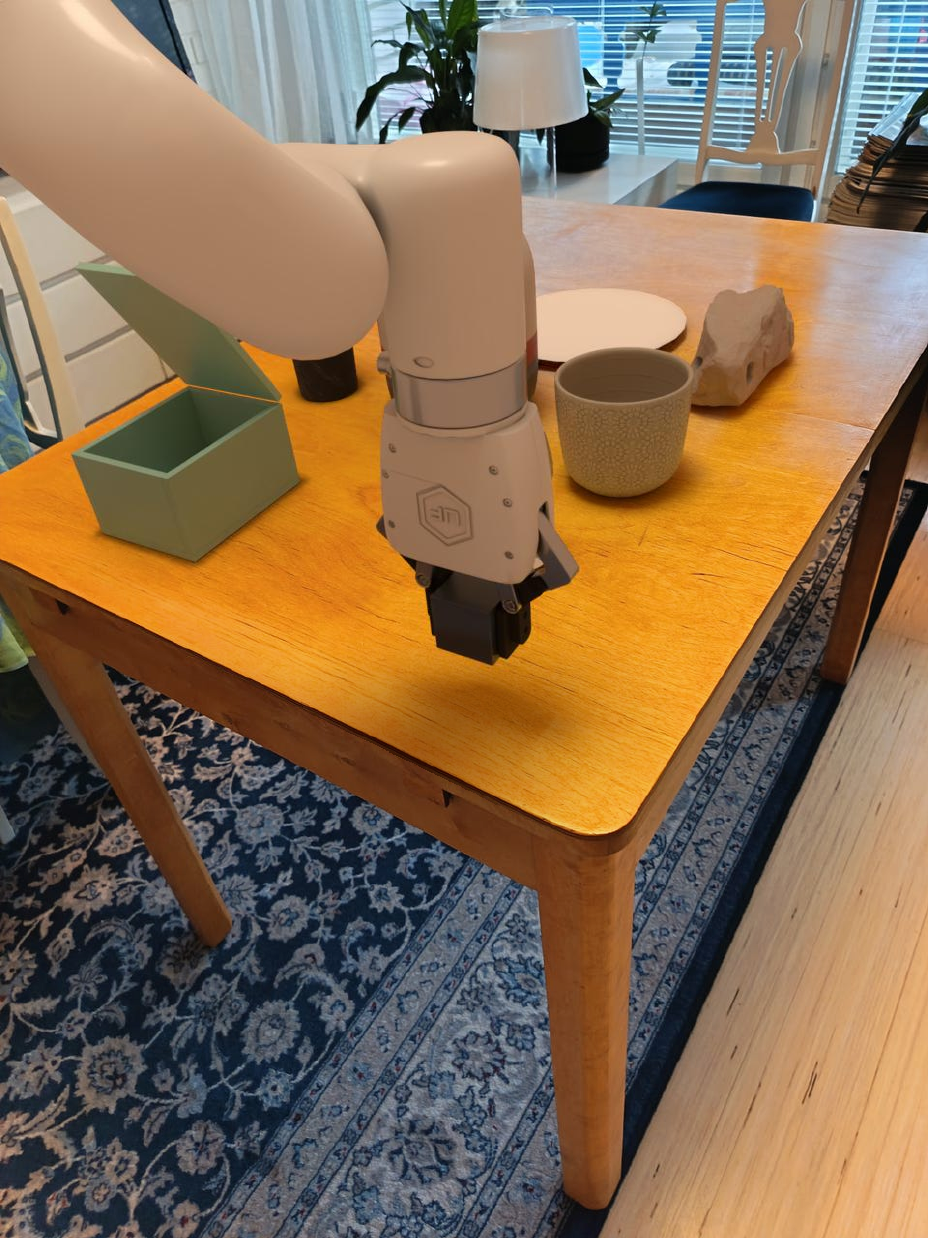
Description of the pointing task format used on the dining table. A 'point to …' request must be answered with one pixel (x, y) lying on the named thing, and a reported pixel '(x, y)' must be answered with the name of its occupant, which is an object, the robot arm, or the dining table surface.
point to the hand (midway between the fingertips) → (479, 633)
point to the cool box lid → (180, 334)
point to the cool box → (188, 470)
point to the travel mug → (327, 377)
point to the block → (466, 617)
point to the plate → (603, 322)
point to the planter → (623, 418)
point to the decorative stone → (740, 345)
